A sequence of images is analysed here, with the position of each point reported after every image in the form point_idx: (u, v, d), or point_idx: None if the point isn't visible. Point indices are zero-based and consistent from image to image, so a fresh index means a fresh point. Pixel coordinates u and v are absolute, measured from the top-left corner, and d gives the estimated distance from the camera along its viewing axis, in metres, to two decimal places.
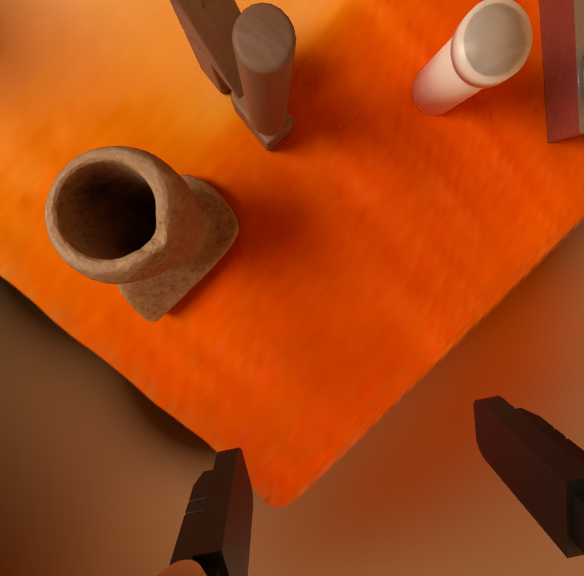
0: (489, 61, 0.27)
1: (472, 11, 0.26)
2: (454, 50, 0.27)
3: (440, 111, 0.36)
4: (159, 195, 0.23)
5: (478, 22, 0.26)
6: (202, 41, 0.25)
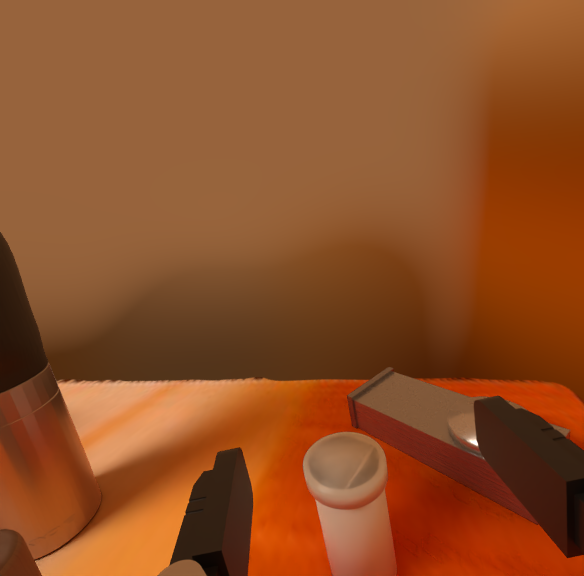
0: (351, 474, 0.23)
1: (306, 456, 0.26)
2: (313, 490, 0.23)
3: None
4: None
5: (317, 459, 0.25)
6: None
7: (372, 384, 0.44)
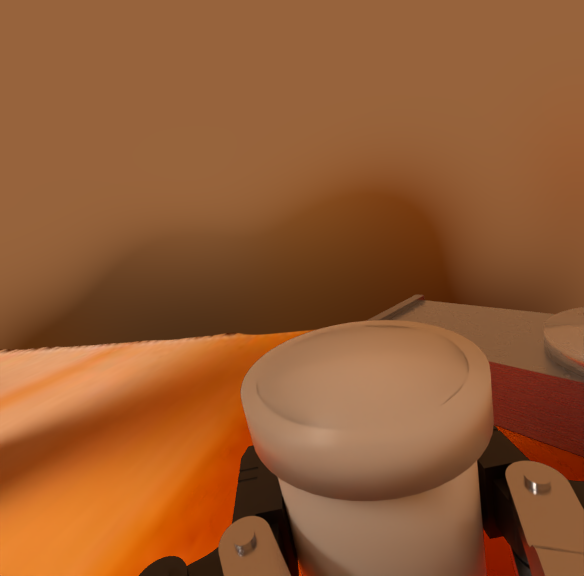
0: (381, 391, 0.07)
1: (256, 365, 0.10)
2: (261, 442, 0.07)
3: None
4: None
5: (283, 367, 0.09)
6: None
7: (393, 314, 0.28)
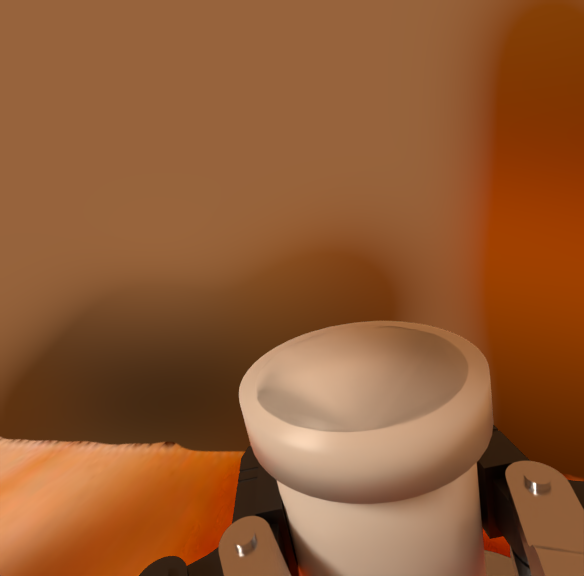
0: (381, 392, 0.07)
1: (254, 367, 0.10)
2: (259, 444, 0.07)
3: None
4: None
5: (282, 369, 0.09)
6: None
7: None
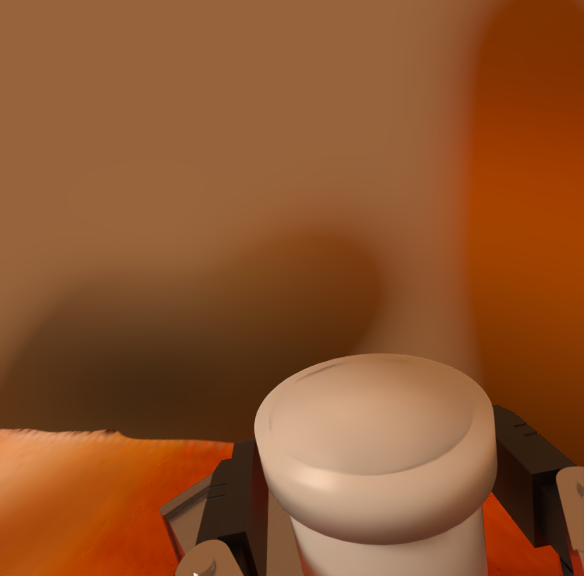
0: (390, 434, 0.08)
1: (267, 400, 0.10)
2: (275, 481, 0.08)
3: None
4: None
5: (294, 403, 0.10)
6: None
7: None
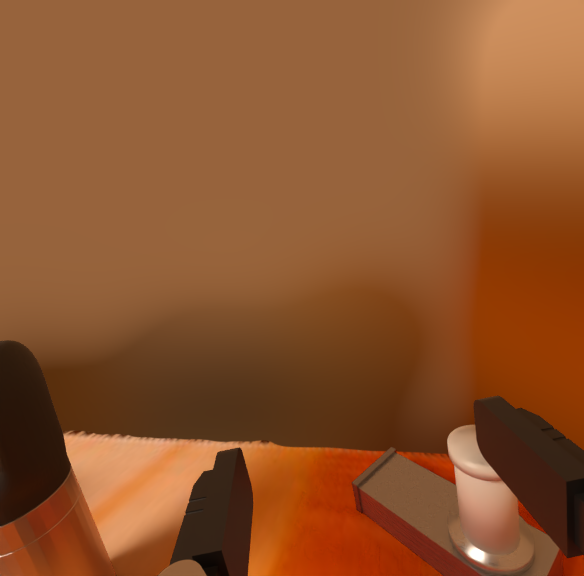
0: None
1: (449, 443, 0.33)
2: (466, 468, 0.30)
3: (514, 538, 0.32)
4: None
5: (459, 445, 0.32)
6: None
7: (376, 469, 0.46)
